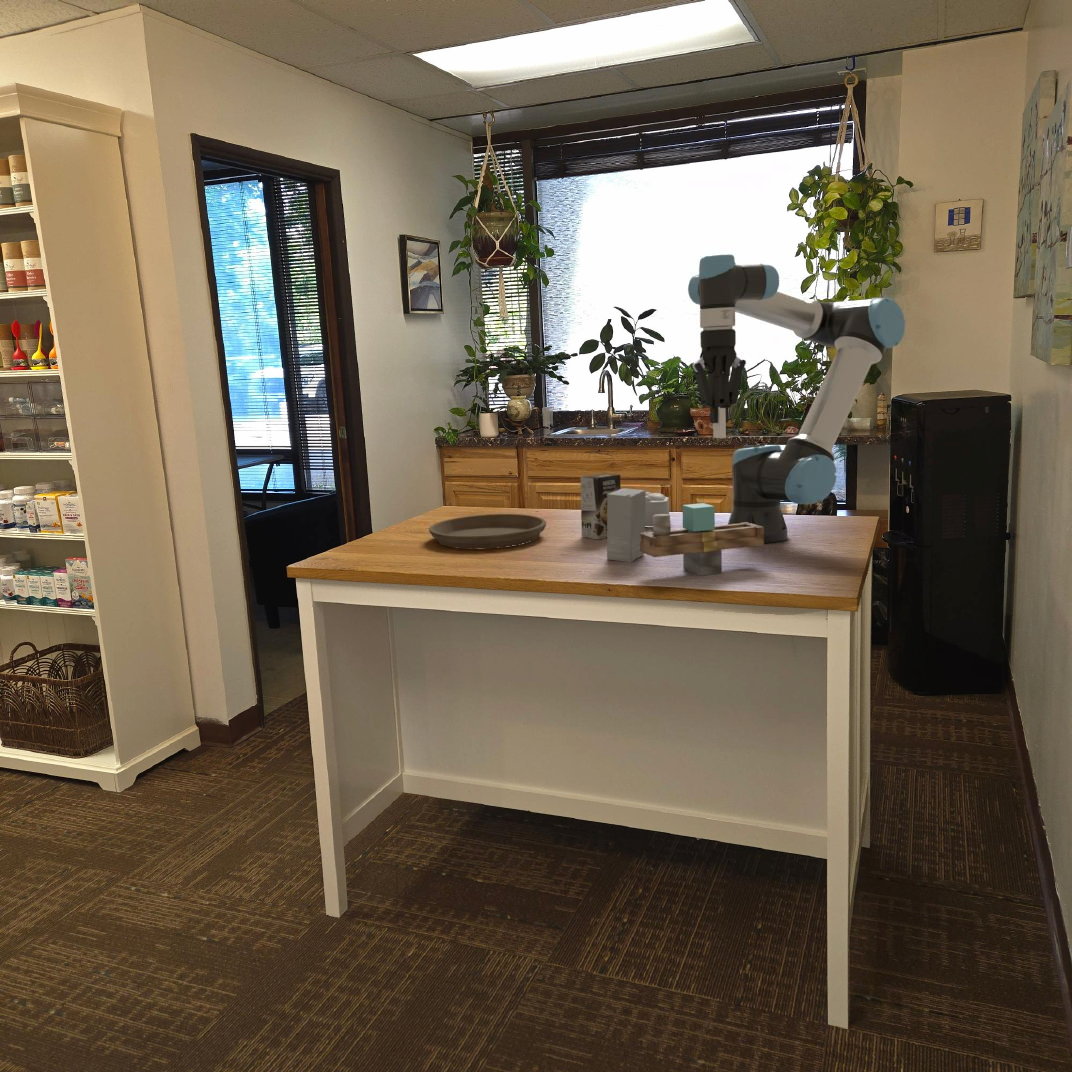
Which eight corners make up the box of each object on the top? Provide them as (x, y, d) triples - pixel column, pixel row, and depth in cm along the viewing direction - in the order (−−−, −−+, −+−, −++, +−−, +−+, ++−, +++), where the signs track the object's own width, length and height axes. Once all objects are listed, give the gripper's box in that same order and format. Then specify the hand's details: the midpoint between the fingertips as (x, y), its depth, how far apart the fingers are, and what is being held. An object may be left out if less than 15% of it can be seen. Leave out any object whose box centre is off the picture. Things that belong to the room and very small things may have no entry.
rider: (703, 535, 204) (703, 503, 203) (714, 539, 200) (714, 506, 198) (682, 537, 203) (682, 505, 201) (693, 541, 198) (693, 508, 197)
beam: (745, 561, 210) (745, 504, 208) (764, 568, 203) (765, 508, 200) (639, 573, 203) (638, 514, 200) (655, 581, 195) (654, 519, 193)
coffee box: (598, 540, 241) (596, 478, 238) (580, 537, 246) (579, 476, 243) (622, 534, 247) (621, 474, 244) (605, 532, 252) (603, 472, 249)
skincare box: (621, 553, 224) (619, 487, 221) (648, 555, 221) (647, 488, 218) (605, 560, 217) (603, 492, 214) (633, 562, 213) (631, 493, 210)
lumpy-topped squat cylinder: (667, 528, 254) (667, 496, 253) (620, 528, 257) (619, 496, 256) (670, 521, 264) (669, 491, 263) (624, 521, 267) (623, 491, 266)
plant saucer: (452, 557, 228) (451, 539, 228) (415, 537, 256) (414, 521, 255) (566, 542, 241) (565, 525, 240) (519, 525, 269) (518, 509, 268)
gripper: (700, 329, 197) (703, 441, 202) (753, 326, 202) (754, 436, 206) (682, 330, 204) (685, 439, 209) (733, 328, 209) (735, 434, 213)
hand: (719, 437), depth 207 cm, fingers closed
